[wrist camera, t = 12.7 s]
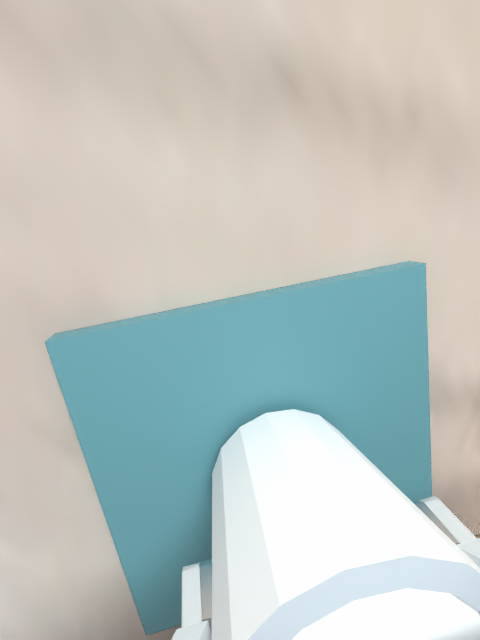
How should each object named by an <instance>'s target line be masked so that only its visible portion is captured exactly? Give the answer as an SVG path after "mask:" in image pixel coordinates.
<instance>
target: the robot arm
mask: <svg viewBox="0 0 480 640" xmlns="http://www.w3.org/2000/svg"><path fill="white" fill-rule="evenodd" d="M413 503H414V504H415V505H416V506H417V507H418V508H419V509H420V510H421V511H422V512H423V513H424V514H425V515H426V516H427V517H428V518H429V519H430V520H431V521H432V522H433V523H434V524H435V525H436V526H437V527H438V528H439V529H440V530H441V531H443V532H444V533H445V534H446V535H447V536H448V537H449V538H450V539H451V540H452V541H453V542H454V543H455V544H456V545H457V546H458V547H459V548H460V549H461V550H462V551H463V552H464V553H465V554H466V555H467V556H468V557H469V558H470V559H471V560H472V561H473V562H474V563H475V564H476V565H477V566H478V567H480V538H476V537H475V536H474V535H473V534H472V533H471V532H470V530H469V529H468V528H467V527H466V526H465V525H464V524H463V523H462V522H461V521H460V520H459V519H458V518H457V517H456V516H455V515H454V514H453V513H452V512H451V511H450V510H449V509H448V508H447V507H446V506H445V505H444V504H443V503H442V502H441V500H440V499H439V498H437V497H435V496H432V497H429V498H425V499H422V500H419V501H414V502H413ZM211 635H212V559H211V560H207V561H203V562H200V563H196V564H192V565H188V566H184V567H183V569H182V628H179V629H176V631H175V633H174V635H173V637H172V639H171V640H211Z"/></svg>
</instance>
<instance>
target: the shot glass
mask: <svg viewBox="0 0 480 640" xmlns="http://www.w3.org/2000/svg"><path fill="white" fill-rule="evenodd" d="M211 640H480V567H478V566H477V565H476V564H475V563H474V562H473V561H472V560H471V559H470V558H469V557H468V556H467V555H466V554H465V553H464V552H463V551H462V550H461V549H460V548H459V547H458V546H457V545H456V544H455V543H454V542H453V541H452V540H451V539H450V538H449V537H448V536H447V535H446V534H445V533H444V532H443V531H441V530H440V529H439V528H438V527H437V526H436V525H435V524H434V523H433V522H432V521H431V520H430V519H429V518H428V517H427V516H426V515H425V514H424V513H423V512H422V511H421V510H420V509H419V508H418V507H417V506H416V505H415V504H414V503H413V502H412V501H411V500H410V499H409V498H408V497H407V496H406V495H404V494H403V493H402V492H401V491H400V490H399V489H398V488H397V487H396V486H395V485H394V484H393V483H392V482H391V481H390V480H389V479H388V478H387V477H386V476H385V475H384V474H383V473H382V472H381V471H380V470H379V469H378V468H377V467H376V466H375V465H374V464H373V463H372V462H371V461H370V460H369V459H367V458H366V457H365V456H364V455H363V454H362V453H361V452H360V451H359V450H358V449H357V448H356V447H355V446H354V445H353V444H352V443H351V442H350V441H349V440H348V439H347V438H346V437H345V436H344V435H343V434H342V433H341V432H340V431H339V430H338V429H336V428H335V427H334V426H333V425H331V424H330V423H329V422H327V421H326V420H325V419H324V418H322V417H321V416H320V415H317V414H313V413H309V412H304V411H300V410H296V409H290V410H283V411H276V412H269V413H265V414H263V415H261V416H259V417H257V418H255V419H254V420H252V421H250V422H248V423H246V424H244V425H242V426H241V427H239V428H238V430H237V431H236V432H235V433H234V434H233V435H232V436H231V437H230V439H229V440H228V441H227V442H226V443H225V444H224V445H223V446H222V448H221V450H220V452H219V455H218V458H217V461H216V464H215V467H214V469H213V472H212V635H211Z"/></svg>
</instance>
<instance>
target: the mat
mask: <svg viewBox="0 0 480 640" xmlns="http://www.w3.org/2000/svg"><path fill="white" fill-rule="evenodd" d="M45 345H46V348H47V351H48V353H49V356H50V359H51V362H52V365H53V368H54V371H55V374H56V377H57V379H58V382H59V385H60V388H61V391H62V394H63V397H64V400H65V403H66V405H67V408H68V411H69V414H70V417H71V420H72V423H73V426H74V428H75V431H76V434H77V437H78V440H79V443H80V446H81V449H82V452H83V454H84V457H85V460H86V463H87V466H88V469H89V472H90V475H91V478H92V480H93V483H94V486H95V489H96V492H97V495H98V498H99V501H100V504H101V506H102V509H103V512H104V515H105V518H106V521H107V524H108V527H109V530H110V532H111V535H112V538H113V541H114V544H115V547H116V550H117V553H118V556H119V558H120V561H121V564H122V567H123V570H124V573H125V576H126V579H127V582H128V584H129V587H130V590H131V593H132V596H133V599H134V602H135V605H136V608H137V610H138V613H139V616H140V619H141V622H142V625H143V628H144V631H145V634H146V635H149V634H153V633H156V632H159V631H162V630H166V629H169V628H172V627H176V626H179V625H182V569H183V567H184V566H188V565H192V564H196V563H200V562H203V561H207V560H211V559H212V472H213V469H214V467H215V464H216V461H217V458H218V455H219V452H220V450H221V448H222V446H223V445H224V444H225V443H226V442H227V441H228V440H229V439H230V437H231V436H232V435H233V434H234V433H235V432H236V431H237V430H238V428H239V427H241V426H242V425H244V424H246V423H248V422H250V421H252V420H254V419H255V418H257V417H259V416H261V415H263V414H265V413H269V412H276V411H283V410H290V409H296V410H300V411H304V412H309V413H313V414H317V415H320V416H321V417H322V418H324V419H325V420H326V421H327V422H329V423H330V424H331V425H333V426H334V427H335V428H336V429H338V430H339V431H340V432H341V433H342V434H343V435H344V436H345V437H346V438H347V439H348V440H349V441H350V442H351V443H352V444H353V445H354V446H355V447H356V448H357V449H358V450H359V451H360V452H361V453H362V454H363V455H364V456H365V457H366V458H367V459H369V460H370V461H371V462H372V463H373V464H374V465H375V466H376V467H377V468H378V469H379V470H380V471H381V472H382V473H383V474H384V475H385V476H386V477H387V478H388V479H389V480H390V481H391V482H392V483H393V484H394V485H395V486H396V487H397V488H398V489H399V490H400V491H401V492H402V493H403V494H404V495H406V496H407V497H408V498H409V499H410V500H411V501H412V502H414V501H419V500H422V499H425V498H429V497H432V480H431V443H430V406H429V369H428V332H427V295H426V263H419V262H412V261H408V262H403V263H398V264H393V265H388V266H383V267H378V268H373V269H369V270H364V271H359V272H354V273H349V274H344V275H339V276H334V277H329V278H325V279H320V280H315V281H310V282H305V283H300V284H295V285H290V286H286V287H281V288H276V289H271V290H266V291H261V292H256V293H251V294H247V295H242V296H237V297H232V298H227V299H222V300H217V301H212V302H207V303H203V304H198V305H193V306H188V307H183V308H178V309H173V310H168V311H164V312H159V313H154V314H149V315H144V316H139V317H134V318H129V319H125V320H120V321H115V322H110V323H105V324H100V325H95V326H90V327H85V328H81V329H76V330H71V331H66V332H61V333H56V334H54V335H53V336H52V337H50V338H49V339H48V340H47V341H45Z"/></svg>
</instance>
